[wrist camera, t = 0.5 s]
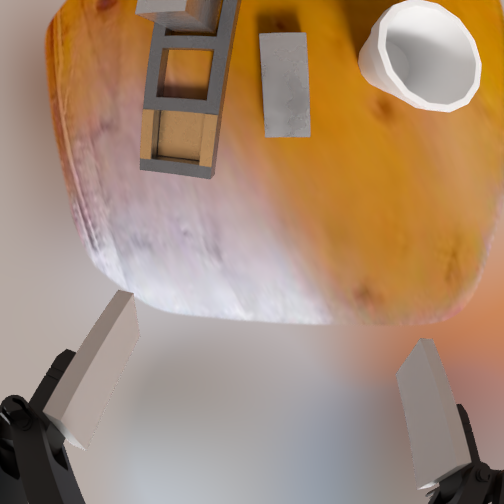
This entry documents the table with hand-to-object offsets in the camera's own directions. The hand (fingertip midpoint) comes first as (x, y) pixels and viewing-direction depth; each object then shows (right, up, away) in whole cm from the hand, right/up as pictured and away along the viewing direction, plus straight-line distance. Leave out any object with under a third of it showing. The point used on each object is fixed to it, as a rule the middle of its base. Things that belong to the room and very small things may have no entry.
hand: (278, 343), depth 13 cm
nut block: (+3, +22, +17) cm, 28 cm away
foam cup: (+14, +25, +14) cm, 32 cm away
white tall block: (-7, +31, +13) cm, 34 cm away
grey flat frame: (-8, +24, +17) cm, 31 cm away
